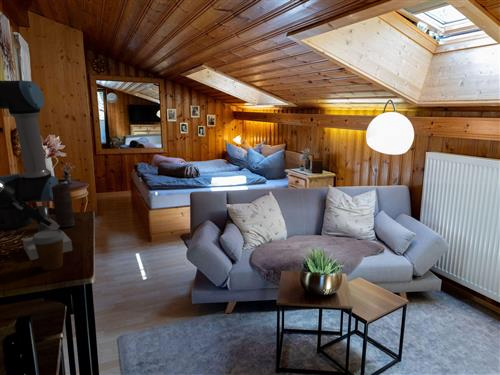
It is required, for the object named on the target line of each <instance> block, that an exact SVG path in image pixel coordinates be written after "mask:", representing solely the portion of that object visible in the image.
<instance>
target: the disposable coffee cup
mask: <svg viewBox="0 0 500 375" xmlns="http://www.w3.org/2000/svg"><path fill="white" fill-rule="evenodd" d="M62 231H63V230H61V229H57V230H45V231H41V232H39V231H38V232H36V233H34V234H33V236H32V237H33V239H32V241H33V243H34V244H35V247H36V250H37V253H38V257H39V258H38V260H39V263H40V266H41V269H42V270H43V271H53V270H57V269H60V268H61V267H63V265H64V264H63V263H64V262H63V260H64V253H63V238H64V234H63V232H64V231H63V232H62Z"/></svg>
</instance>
